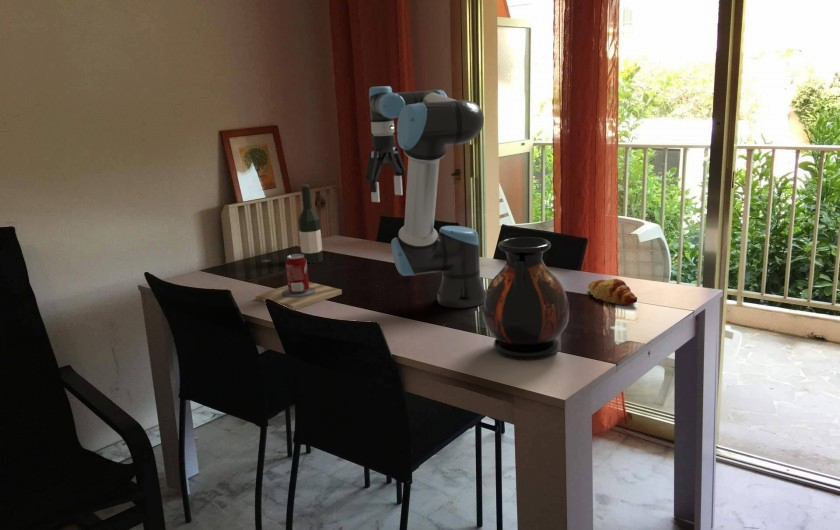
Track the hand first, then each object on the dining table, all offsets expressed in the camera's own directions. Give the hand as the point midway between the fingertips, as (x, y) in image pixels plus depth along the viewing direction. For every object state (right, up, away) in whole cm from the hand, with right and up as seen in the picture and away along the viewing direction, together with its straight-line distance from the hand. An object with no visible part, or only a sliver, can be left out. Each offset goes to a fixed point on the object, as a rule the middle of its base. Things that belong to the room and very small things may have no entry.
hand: (387, 198), depth 246 cm
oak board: (-29, -33, -6) cm, 44 cm away
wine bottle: (-31, -21, +39) cm, 54 cm away
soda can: (-29, -31, -6) cm, 43 cm away
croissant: (+69, -33, -25) cm, 81 cm away
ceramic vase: (+38, -44, -60) cm, 84 cm away
